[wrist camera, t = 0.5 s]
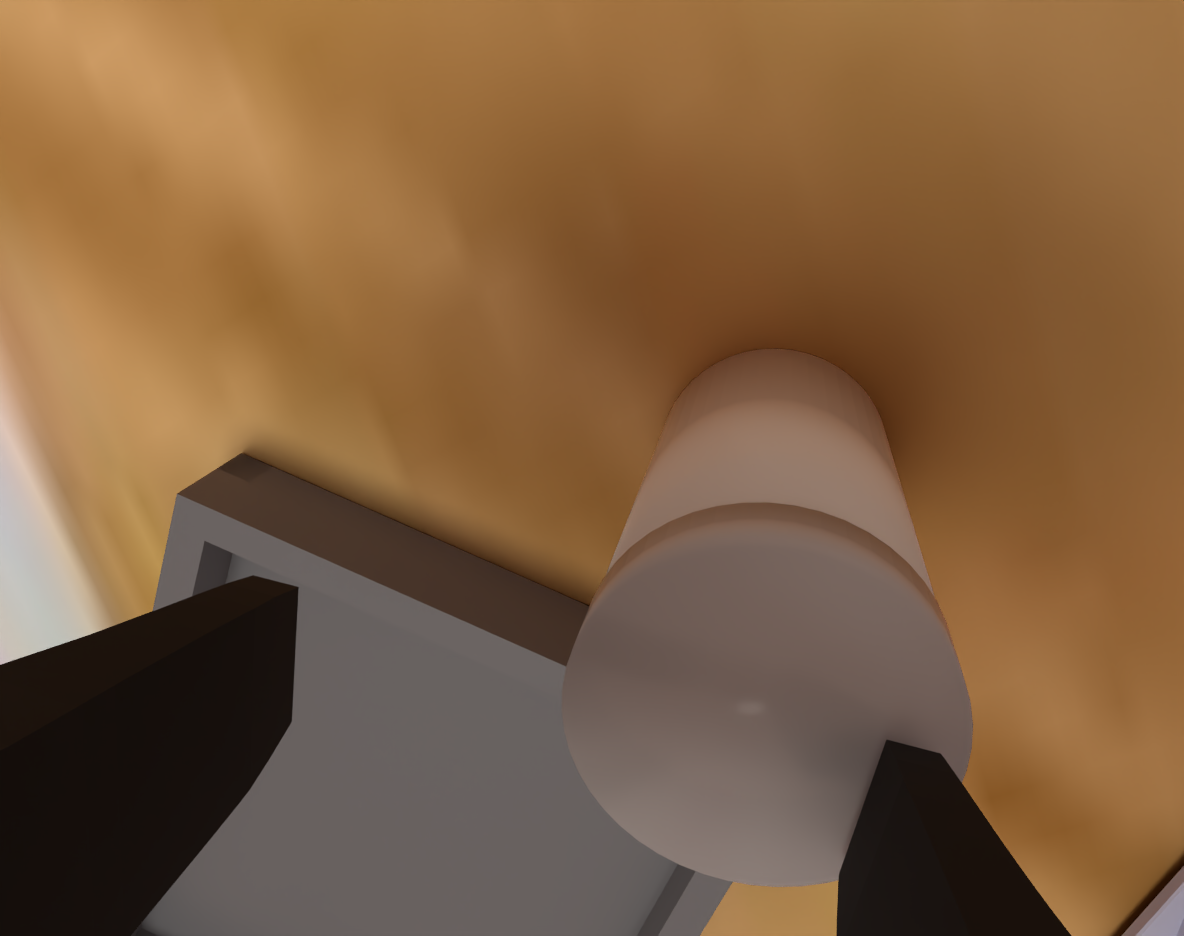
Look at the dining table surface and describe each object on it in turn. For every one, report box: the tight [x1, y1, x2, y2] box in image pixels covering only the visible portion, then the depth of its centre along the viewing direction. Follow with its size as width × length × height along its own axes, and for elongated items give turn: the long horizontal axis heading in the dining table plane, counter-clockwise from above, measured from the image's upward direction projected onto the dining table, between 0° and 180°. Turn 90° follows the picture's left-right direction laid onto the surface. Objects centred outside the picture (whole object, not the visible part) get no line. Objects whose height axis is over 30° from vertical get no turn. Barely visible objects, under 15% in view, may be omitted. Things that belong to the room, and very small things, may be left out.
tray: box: [131, 453, 732, 936], centre depth 24 cm, size 14×16×2 cm
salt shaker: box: [562, 349, 973, 887], centre depth 15 cm, size 5×5×9 cm
